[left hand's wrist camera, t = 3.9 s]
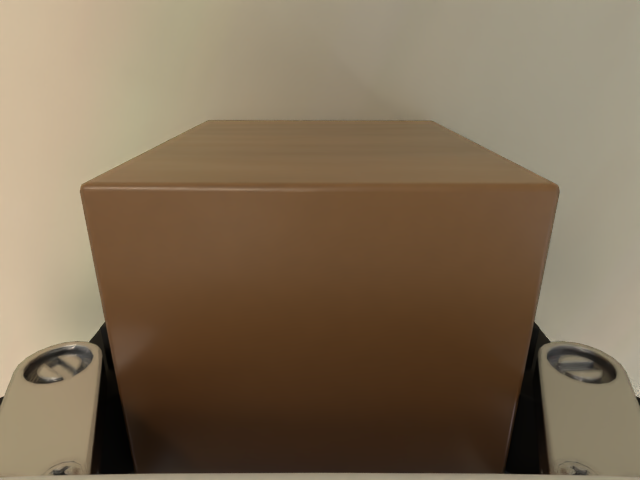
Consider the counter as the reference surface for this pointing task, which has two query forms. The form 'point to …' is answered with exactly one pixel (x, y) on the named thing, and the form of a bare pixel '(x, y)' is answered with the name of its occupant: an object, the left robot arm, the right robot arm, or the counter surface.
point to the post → (319, 296)
